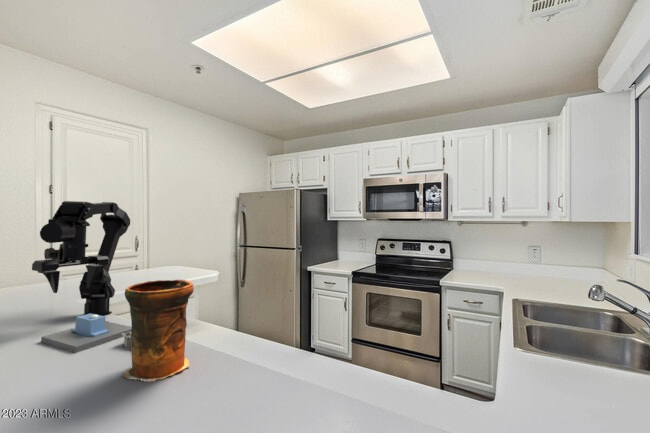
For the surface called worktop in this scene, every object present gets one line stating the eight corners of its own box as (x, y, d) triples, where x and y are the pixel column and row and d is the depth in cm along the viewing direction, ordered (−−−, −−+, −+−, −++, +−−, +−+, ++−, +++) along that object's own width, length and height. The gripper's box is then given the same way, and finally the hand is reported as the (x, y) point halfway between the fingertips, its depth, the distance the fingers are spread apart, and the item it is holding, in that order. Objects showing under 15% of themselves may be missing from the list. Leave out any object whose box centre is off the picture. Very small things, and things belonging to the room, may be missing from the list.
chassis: (101, 324, 101) (101, 320, 101) (134, 332, 95) (135, 327, 95) (41, 342, 86) (41, 336, 86) (76, 352, 80) (76, 346, 80)
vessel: (155, 390, 63) (157, 292, 64) (107, 378, 68) (109, 287, 69) (205, 361, 77) (206, 281, 77) (162, 353, 82) (163, 277, 82)
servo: (85, 332, 94) (86, 310, 94) (109, 338, 90) (110, 315, 90) (70, 336, 90) (71, 314, 91) (94, 342, 86) (95, 319, 86)
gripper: (90, 238, 109) (88, 282, 109) (22, 241, 92) (20, 293, 92) (111, 239, 105) (109, 285, 105) (44, 242, 88) (41, 297, 87)
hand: (72, 290), depth 97 cm, fingers open, 9 cm apart
